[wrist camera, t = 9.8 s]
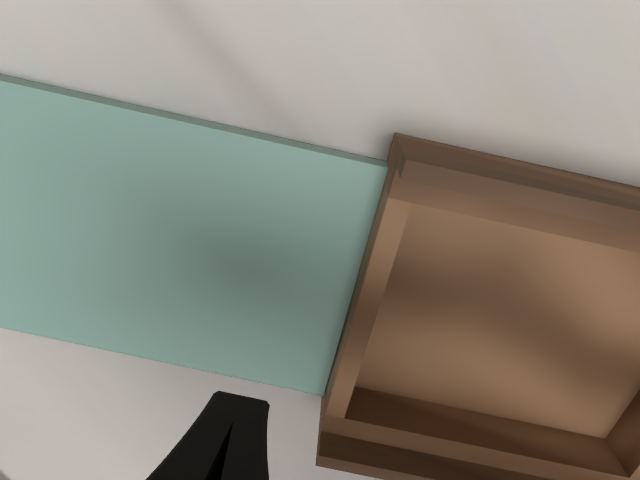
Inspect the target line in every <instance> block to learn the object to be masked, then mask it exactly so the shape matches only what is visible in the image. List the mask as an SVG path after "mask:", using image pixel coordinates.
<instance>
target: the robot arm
mask: <svg viewBox="0 0 640 480" xmlns="http://www.w3.org/2000/svg"><path fill="white" fill-rule="evenodd" d="M269 406H270V405H269V404H268V402H267V401H264V400H260V399H255V398H250V397H245V396H241V395H236V394H231V393H226V392H222V391H218V392H216V393H214V394H213V396H212V397H211V399H210V401H209V402H208V404H207V405H206V407H205V408H204V410H203V411H202V412H201V414H200V415H199V417H198V418H197V419H196V421H195V422H194V423H193V425H192V426H191V427H190V429H189V430H188V431H187V432H186V434H185V435H184V436H183V437H182V439H181V440H180V441H179V442H178V443H177V445H176V446H175V447H174V448H173V449H172V451H171V452H170V453H169V454H168V455H167V457H166V458H165V459H164V460H163V461H162V462H161V464H160V465H159V466H158V467H157V468H156V469H155V470H154V471H153V472H152V473H151V475H150V476H149V477H148V478H147V479H146V480H269V473H268V461H267V420H268V412H269Z"/></svg>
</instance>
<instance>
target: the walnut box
mask: <svg viewBox="0 0 640 480" xmlns="http://www.w3.org/2000/svg"><path fill="white" fill-rule="evenodd" d="M387 165H388V171H387V175H386V178H385V182H384V185H383V189H382V192H381V196H380V199H379V203H378V206H377V210H376V213H375V217H374V220H373V224H372V227H371V231H370V234H369V238H368V241H367V245H366V248H365V252H364V255H363V259H362V262H361V266H360V269H359V273H358V276H357V280H356V283H355V287H354V290H353V294H352V297H351V301H350V305H349V308H348V312H347V315H346V319H345V322H344V326H343V329H342V333H341V336H340V340H339V343H338V347H337V350H336V354H335V357H334V361H333V364H332V368H331V371H330V375H329V378H328V382H327V385H326V389H325V392H324V396H322V401H321V412H320V423H319V434H318V445H317V456H316V466H321V467H325V468H330V469H335V470H340V471H345V472H350V473H355V474H359V475H364V476H369V477H374V478H379V479H384V480H640V187H635V186H631V185H626V184H622V183H617V182H613V181H608V180H604V179H599V178H595V177H590V176H586V175H581V174H577V173H572V172H568V171H563V170H559V169H554V168H550V167H545V166H541V165H536V164H532V163H528V162H523V161H519V160H514V159H510V158H505V157H501V156H496V155H492V154H487V153H483V152H478V151H474V150H469V149H465V148H460V147H456V146H451V145H447V144H442V143H438V142H433V141H429V140H424V139H420V138H415V137H411V136H406V135H402V134H398V133H395V134H394V138H393V142H392V145H391V149H390V152H389V156H388V160H387Z"/></svg>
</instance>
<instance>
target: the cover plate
mask: <svg viewBox="0 0 640 480" xmlns="http://www.w3.org/2000/svg"><path fill="white" fill-rule="evenodd" d="M387 171H388V165H387V161H382V160H378V159H373V158H369V157H365V156H360V155H356V154H351V153H347V152H343V151H338V150H334V149H329V148H325V147H320V146H316V145H312V144H307V143H303V142H298V141H294V140H290V139H285V138H281V137H276V136H272V135H267V134H263V133H259V132H254V131H250V130H245V129H241V128H237V127H232V126H228V125H223V124H219V123H214V122H210V121H206V120H201V119H197V118H192V117H188V116H184V115H179V114H175V113H170V112H166V111H161V110H157V109H153V108H148V107H144V106H139V105H135V104H131V103H126V102H122V101H117V100H113V99H108V98H104V97H100V96H95V95H91V94H86V93H82V92H78V91H73V90H69V89H64V88H60V87H55V86H51V85H47V84H42V83H38V82H33V81H29V80H25V79H20V78H16V77H11V76H7V75H2V74H0V328H4V329H9V330H14V331H19V332H23V333H28V334H33V335H37V336H42V337H47V338H52V339H56V340H61V341H66V342H71V343H75V344H80V345H85V346H89V347H94V348H99V349H104V350H108V351H113V352H118V353H123V354H127V355H132V356H137V357H141V358H146V359H151V360H156V361H160V362H165V363H170V364H175V365H179V366H184V367H189V368H193V369H198V370H203V371H208V372H212V373H217V374H222V375H226V376H231V377H236V378H241V379H245V380H250V381H255V382H260V383H264V384H269V385H274V386H278V387H283V388H288V389H293V390H297V391H302V392H307V393H312V394H316V395H321V396H324V392H325V389H326V385H327V382H328V378H329V375H330V371H331V368H332V364H333V361H334V357H335V354H336V350H337V347H338V343H339V340H340V336H341V333H342V329H343V326H344V322H345V319H346V315H347V312H348V308H349V305H350V301H351V297H352V294H353V290H354V287H355V283H356V280H357V276H358V273H359V269H360V266H361V262H362V259H363V255H364V252H365V248H366V245H367V241H368V238H369V234H370V231H371V227H372V224H373V220H374V217H375V213H376V210H377V206H378V203H379V199H380V196H381V192H382V189H383V185H384V182H385V178H386V175H387Z"/></svg>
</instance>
